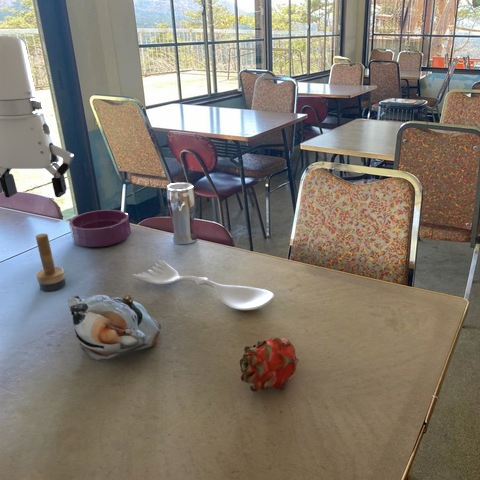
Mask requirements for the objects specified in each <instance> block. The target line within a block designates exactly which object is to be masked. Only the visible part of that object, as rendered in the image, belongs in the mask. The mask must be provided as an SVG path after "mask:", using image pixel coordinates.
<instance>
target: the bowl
mask: <svg viewBox="0 0 480 480" xmlns="http://www.w3.org/2000/svg"><path fill="white" fill-rule="evenodd" d="M69 229H70V235H71V240H72V242H73V243H74V244H76V245H78V246H82V247H86V248H103V247H109V246H114V245H117V244H119V243H121V242H122V241H124V240H126V239H128V238H129V237H130V236H131V235H132V230H131V223H130V216H129V214H128V213H127V212H125V211H122V210H119V209H100V210H93V211H87V212H84V213H81V214H78V215H76V216H74V217H72V218H71V219H70V220H69Z"/></svg>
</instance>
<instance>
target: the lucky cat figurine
mask: <svg viewBox="0 0 480 480" xmlns="http://www.w3.org/2000/svg"><path fill="white" fill-rule="evenodd" d="M67 302H68V309H69V312H71V313H70V314H71V316H72V325H73V329H74V332H75V336H76V339H77V341H78V342H79V346H80V348H81V350H82V351H83V352H85V353H86V354H87V355H89V356H90V357H91V359H92V360H94V361H100V360H104V359H105V360H109V359H112V358H114V357H116V356H118V355H121V354H125V353H129V352H134V351H139V350H144V349H148V348H150V347H154V346H156V344H157V341H158V339H159V335H160V330H161V329H162V325H161V323H159V322H158V321H157V320H156V319H155V318H154V317H152V316H151V315H150V314H149V312H148V310H147V308H145V307H144V305H142V304H141V303H139V302H137V301H135V300H134V298H133V297H132V296H131V295H129V294H125V295H124V296H123V297H122V298H121V297H113V296H108V295H106V294H95V295H92V296H89V297H87V298H81V297H80V296H79V295H73V296H71V297H70V298H69V299H67Z"/></svg>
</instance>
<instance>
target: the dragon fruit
mask: <svg viewBox="0 0 480 480" xmlns="http://www.w3.org/2000/svg"><path fill="white" fill-rule="evenodd" d="M243 352H244V353H243V354H242V358H241V359H240V360H239V366H240V372H241V376H240V380H241V381H242V382H245V383H246V384H253V385H250V386H249V390H250V391H251V392H253V393H257V392H259V391H264V390H267V389H272V388H273V389H275V390H278V389H279V390H280V391H282V390H284V389H285V387H286V386H285V383H284V382H285V381H287V380H289V379H290V378H291V377H292V376H293V375H294V374H295V372H296V370H297V365H298V362H299V358H297V356H296V348H295V346H294V344H293V342H292V341H290V340H289V339H287V338H285V337H283V338H280V337H274V338H273V337H272V336H270V337H268V338H266V339H261V340H258V341H257V343H256V344H253V345H252V346H251V345H245V346H244V348H243Z"/></svg>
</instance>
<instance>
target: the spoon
mask: <svg viewBox="0 0 480 480" xmlns="http://www.w3.org/2000/svg"><path fill="white" fill-rule="evenodd" d="M154 265H155V266H154ZM154 265H152V266H151V268H152V269H153V270H152V269H146V271H147V272H148V273H147V272H145V271H141V272H137V274H136V273H132V274H131V276H132V278H134V279H136V280H138V281H141V282H146V283H150V284H153V285H159V286H165V285H166V286H168V285H173V284H177V283H180V282H192V283H195V284H196V285H197V286H204V285H205V286H209V287H211V288H212V289H214V291H215V293H216V294H217V297H218V298H219V300H220V301H221V302H222V304H224V306H227V307H229V308H230V309H233V310H238V311H254V310H259V309H263V308H266V307H267V306H269V305H271V303H272V302H273V301H274V299H275V295H274V293H273V292H272V291H270V290H267V289H265V288H259V287H253V286H246V285H245V286H243V285H230V284H228V285H227V284H220V283H217V282H214V281H211V280H209V278H208V277H206V276H202V277H201V276H200V277H199V276H195V275H183V276H180V274H179V272H178V271H177V270H176V269H175V268H173V267H172V266H171V265H169V264H168V263H167V262H165V261H164V260H163V259H162V258H161V259H160V258H157V262H154Z"/></svg>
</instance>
